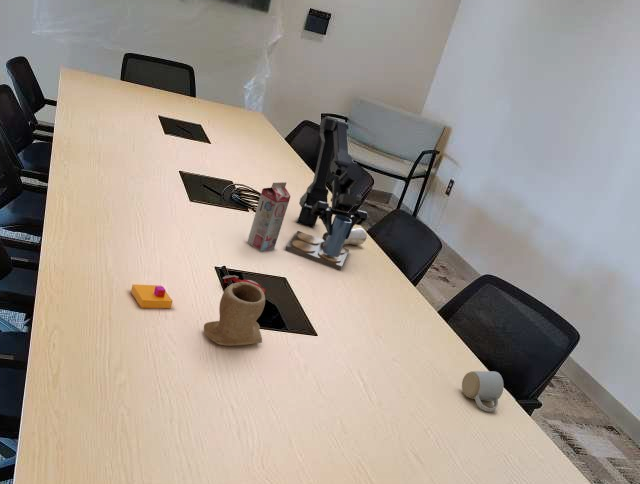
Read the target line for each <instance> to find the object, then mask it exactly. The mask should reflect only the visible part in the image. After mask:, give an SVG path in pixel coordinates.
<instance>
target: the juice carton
mask: <svg viewBox="0 0 640 484" xmlns="http://www.w3.org/2000/svg"><path fill="white" fill-rule="evenodd" d="M286 187H287V182H284V181H283V182H273V183H272V184H271V187H264V188H262V189H261V193H260V196H259V199H258V203H257V207H256V209H255V214H254V216H253V220H252V225H251V228H250V230H249V234H248V237H247V241H246V243H247V244H249V245H250V246H252V247H254V249H256V250H258V251H259V252H266V251H267V252H268V251H274V250H275V248H276V244H277V241H278V238H279V236H280V235H279V234H280V232H281V229H282V226H283V222H284V220H285V216H286V212H287V210H288V206H289V203H290V200H291V197H292V196H291V193H290V192H289V191H288V189H287V188H286Z"/></svg>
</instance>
